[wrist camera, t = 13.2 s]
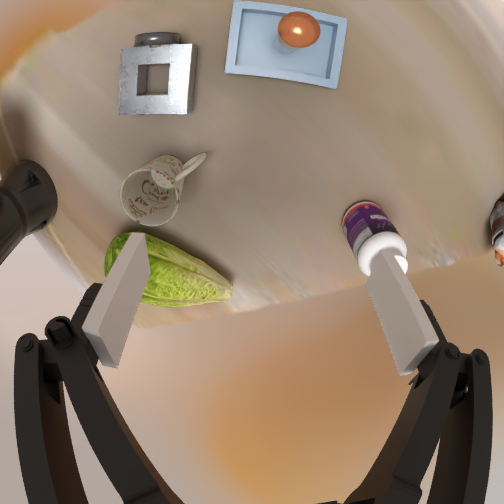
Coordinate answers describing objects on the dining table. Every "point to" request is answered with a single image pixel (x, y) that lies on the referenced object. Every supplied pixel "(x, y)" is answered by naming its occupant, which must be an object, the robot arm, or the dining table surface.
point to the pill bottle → (372, 235)
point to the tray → (278, 64)
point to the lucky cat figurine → (498, 231)
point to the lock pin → (296, 32)
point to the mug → (156, 189)
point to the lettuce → (174, 275)
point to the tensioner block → (136, 68)
